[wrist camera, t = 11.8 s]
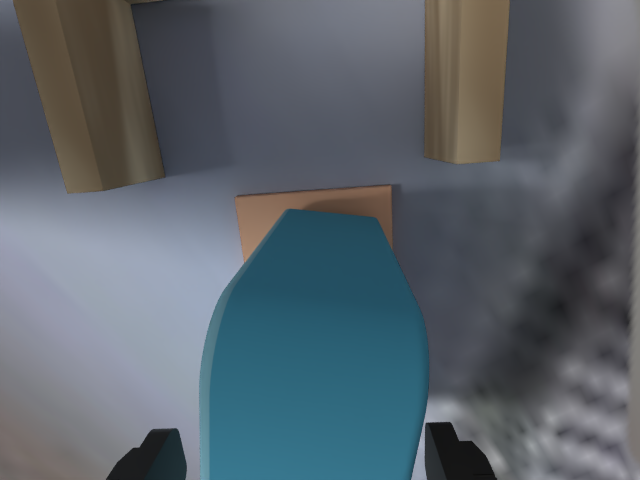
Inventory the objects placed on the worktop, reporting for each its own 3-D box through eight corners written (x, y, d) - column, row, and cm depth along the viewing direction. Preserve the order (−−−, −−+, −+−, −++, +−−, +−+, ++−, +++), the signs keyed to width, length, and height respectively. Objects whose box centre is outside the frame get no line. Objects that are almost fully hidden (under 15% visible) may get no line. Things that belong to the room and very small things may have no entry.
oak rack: (138, 179, 18) (67, 193, 14) (91, -30, 16) (-17, -104, 11) (454, 154, 17) (499, 160, 12) (461, -77, 15) (521, -183, 10)
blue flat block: (349, 403, 21) (360, 724, 10) (275, 395, 21) (199, 701, 10) (376, 210, 18) (444, 347, 6) (288, 202, 18) (193, 319, 6)
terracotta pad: (268, 404, 22) (266, 411, 22) (237, 195, 18) (234, 197, 18) (394, 401, 21) (396, 409, 21) (389, 184, 18) (391, 186, 17)
